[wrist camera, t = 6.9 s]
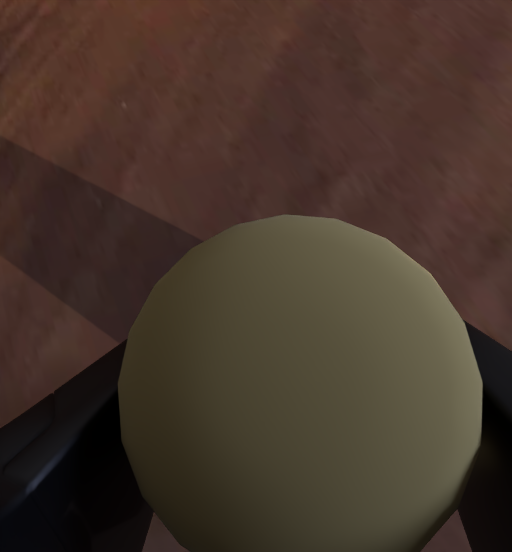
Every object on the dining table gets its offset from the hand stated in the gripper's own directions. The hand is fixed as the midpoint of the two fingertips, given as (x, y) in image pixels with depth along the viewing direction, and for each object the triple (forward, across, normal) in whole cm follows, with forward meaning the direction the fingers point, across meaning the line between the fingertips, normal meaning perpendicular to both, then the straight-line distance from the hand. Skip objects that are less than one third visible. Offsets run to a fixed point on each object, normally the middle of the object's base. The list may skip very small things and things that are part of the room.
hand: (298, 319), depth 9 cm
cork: (+4, 0, +6) cm, 7 cm away
